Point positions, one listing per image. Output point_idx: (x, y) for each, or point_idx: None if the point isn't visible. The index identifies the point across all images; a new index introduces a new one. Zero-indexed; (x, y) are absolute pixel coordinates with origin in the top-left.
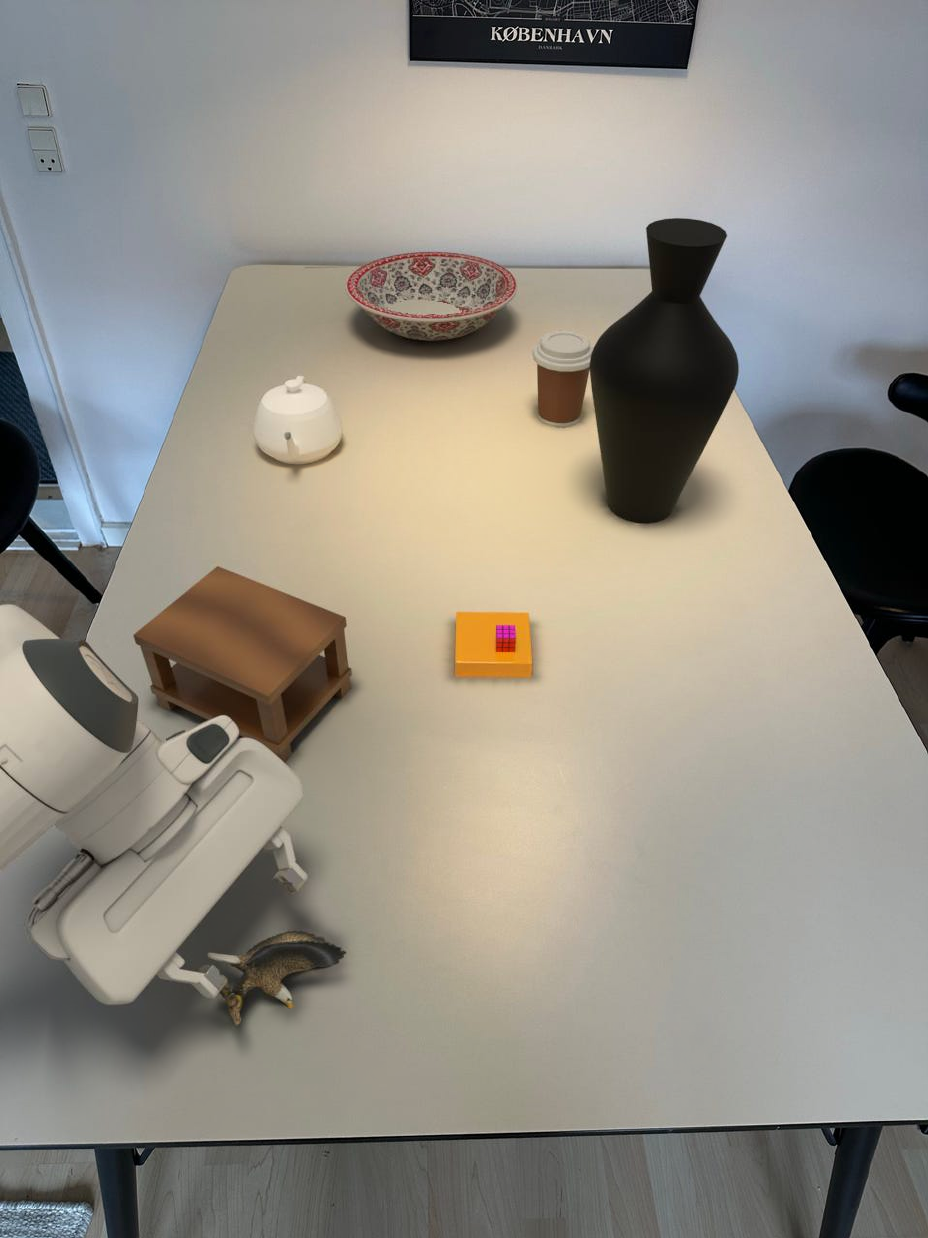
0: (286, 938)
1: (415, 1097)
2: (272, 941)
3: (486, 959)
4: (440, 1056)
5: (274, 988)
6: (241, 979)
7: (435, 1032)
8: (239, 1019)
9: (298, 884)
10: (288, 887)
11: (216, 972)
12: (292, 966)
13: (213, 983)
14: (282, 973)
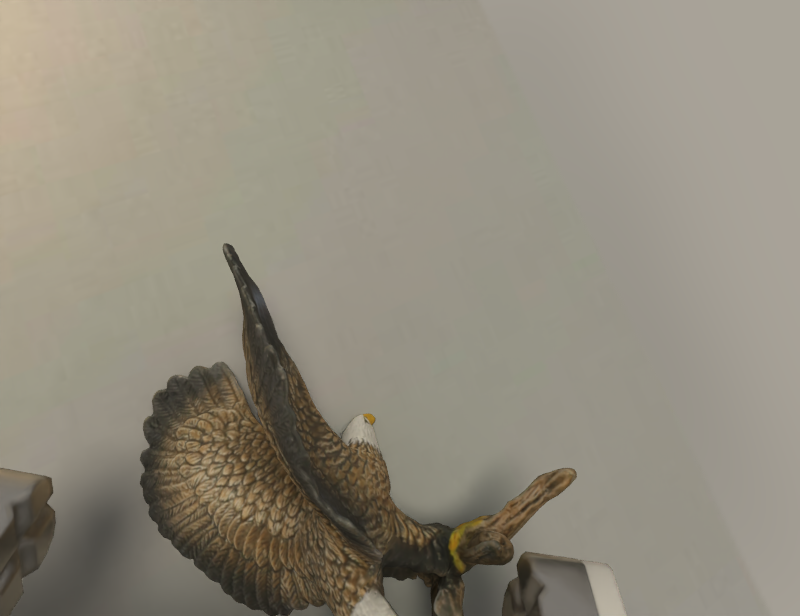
0: (200, 507)
1: (452, 73)
2: (224, 548)
3: (92, 7)
4: (354, 48)
5: (373, 456)
6: (408, 559)
7: (307, 71)
8: (544, 479)
9: (10, 478)
10: (32, 530)
11: (553, 605)
12: (307, 416)
13: (586, 593)
14: (334, 442)
